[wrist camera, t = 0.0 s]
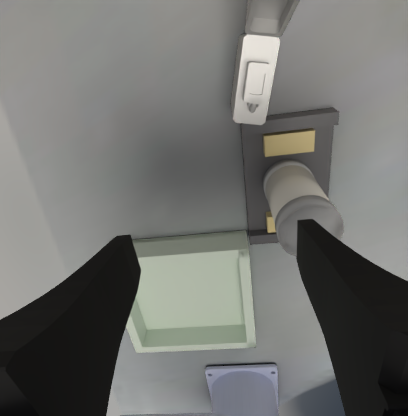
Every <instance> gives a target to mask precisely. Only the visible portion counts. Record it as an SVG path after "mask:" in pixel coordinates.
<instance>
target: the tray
mask: <svg viewBox="0 0 408 416" xmlns="http://www.w3.org/2000/svg"><path fill="white" fill-rule="evenodd" d="M132 242H133V245H134V248H135V251H136V255H137V258H138V261H139V264H140V268H141V275H140V281H139V286H138V291H137V294H136V297H135V301H134V304H133V307H132V310H131V313H130V316H129V318H128V321H127V324H126V328H127V330H128V333H129V335H130V338H131V341H132V343H133V346H134V348H135V351H136V353H148V352H170V351H191V350H213V349H235V348H256V338H255V325H254V312H253V299H252V285H251V272H250V259H249V247H248V240H247V233H246V230H242V231H230V232H218V233H207V234H195V235H184V236H172V237H160V238H149V239H137V240H132Z"/></svg>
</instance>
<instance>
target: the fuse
mask: <svg viewBox="0 0 408 416" xmlns="http://www.w3.org/2000/svg"><path fill="white" fill-rule="evenodd" d="M263 189H264V192H265V196H266V198H267V200H268V203H269V207H270V210H271V213H272V217H273V220H274V224H275V230H276V234H277V237H278V240H279V243H280V245H281V247H282V248H283V249H284V250H285V251H286V252H287V253H289V254H291V255H293V256H296V257H297V220H304V219H313V220H315V221H316V222H317V223H318V224H320V225H321V226H322V227H323V228H324V229H326V230H327V231H328V232H329V233H331V234H332V235H333V236H334V237H336V238H337V239H338V240H341V238H342V236H343V233H344V222H343V219H342V217H341V215H340V214H339V212H338V211H337V209H336V208H335V206H334V205H333V204H332V203H331V202H330V201H329V199H328V198H327V196H326V195H325V193H324V192H323V190H322V189H321V187H320V186H319V184H318V183H317V181H316V180H315V178H314V176H313V174H312V172H311V171H310V169H309V168H308V167H307V166H306V165H305V164H304V163H303V162H301V161H299V160H295V159H285V160H281V161H278V162H276V163H275V164H273V165H272V166H271V167H270V168H269V169H268V170H267V171H266V173H265V175H264V178H263Z"/></svg>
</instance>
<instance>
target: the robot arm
mask: <svg viewBox="0 0 408 416" xmlns="http://www.w3.org/2000/svg"><path fill="white" fill-rule="evenodd" d="M297 263H298V267H299V271H300V274H301V278H302V281H303V284H304V286H305V289H306V291H307V294H308V296H309V299H310V301H311V304H312V306H313V309H314V311H315V313H316V316H317V318H318V321H319V323H320V326H321V329H322V332H323V334H324V337H325V341H326V344H327V348H328V351H329V355H330V358H331V362H332V365H333V369H334V373H335V376H336V380H337V384H338V387H339V391H340V395H341V399H342V403H343V407H344V411H345V415H346V416H408V281H406V280H404V279H402V278H400V277H398V276H396V275H394V274H392V273H390V272H388V271H386V270H384V269H382V268H381V267H379V266H377V265H375V264H374V263H372V262H370V261H369V260H367V259H365V258H364V257H362V256H361V255H359V254H358V253H356V252H355V251H353V250H352V249H350V248H349V247H348V246H346V245H345V244H344V243H342V242H341V241H340V240H338V239H337V238H336V237H334V236H333V235H332V234H331V233H329V232H328V231H327V230H326V229H324V228H323V227H322V226H321V225H320V224H318V223H317V222H316V221H315V220H313V219H304V220H297ZM140 275H141V268H140V264H139V261H138V258H137V255H136V251H135V248H134V245H133V242H132V238H131V235H122V236H116V237H115V238H114V239H113V240H111V241H110V242H109V243H108V244H107V245H106V246H105V247H103V248H102V249H101V250H100V251H99V252H98V253H97V254H96V255H94V256H93V257H92V258H91V259H90V260H89V261H88V262H86V263H85V264H84V265H83V266H82V267H80V268H79V269H78V270H77V271H75V272H74V273H73V274H72V275H71V276H69V277H68V278H67V279H66V280H64V281H63V282H62V283H60V284H59V285H57V286H56V287H55V288H53V289H52V290H50V291H49V292H47V293H46V294H44V295H43V296H41V297H40V298H38V299H36V300H35V301H33V302H31V303H30V304H28V305H26V306H25V307H23V308H21V309H20V310H18V311H16V312H14V313H12V314H10V315H9V316H7V317H5V318H3V319H1V320H0V416H106V413H107V407H108V401H109V395H110V390H111V385H112V380H113V375H114V370H115V365H116V360H117V356H118V351H119V347H120V343H121V340H122V336H123V333H124V330H125V327H126V324H127V321H128V318H129V316H130V313H131V310H132V307H133V304H134V301H135V297H136V294H137V291H138V286H139V281H140ZM205 374H206V379H207V383H208V388H209V392H210V397H211V401H212V413H187V414H146V415H122V416H279V414H278V369H277V366H276V365H275V364H262V365H237V366H213V367H206V368H205Z"/></svg>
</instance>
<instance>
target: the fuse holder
mask: <svg viewBox="0 0 408 416" xmlns="http://www.w3.org/2000/svg"><path fill="white" fill-rule="evenodd" d="M338 120H339V111H337V110H336V109H334V108H326V109H318V110H310V111H302V112H294V113H286V114H278V115H270V116H266V121H265V123H264V124H262V125H255V124H244V123H241V133H242V147H243V161H244V174H245V188H246V202H247V215H248V229H249V239H250V245H252V244H264V243H277V242H279V240H278V237H277V234H276V230H275V224H274V220H273V217H272V213H271V210H270V207H269V203H268V200H267V198H266V196H265V192H264V189H263V178H264V175H265V173H266V171H267V170H268V169H269V168H270V167H271V166H272V165H273V164H275V163H276V162H278V161H281V160H285V159H295V160H299V161H301V162H303V163H304V164H305V165H306V166H307V167H308V168H309V169H310V171H311V172H312V174H313V176H314V178H315V180H316V181H317V183H318V184H319V186H320V187H321V189H322V190H323V192H324V193H325V195H326V196H327V198H328V191H329V178H330V165H331V152H332V140H333V127H334V125H338Z"/></svg>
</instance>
